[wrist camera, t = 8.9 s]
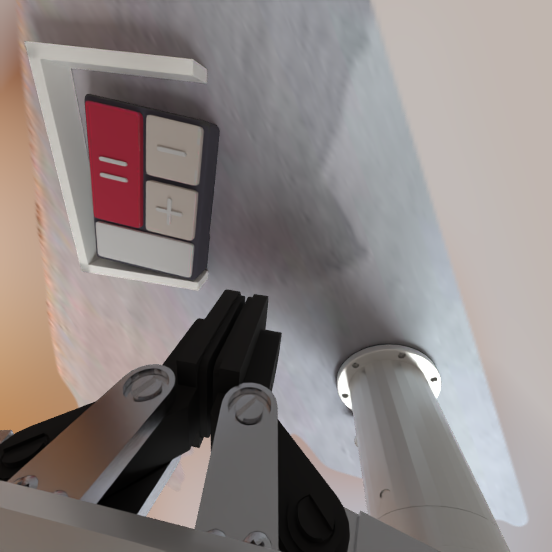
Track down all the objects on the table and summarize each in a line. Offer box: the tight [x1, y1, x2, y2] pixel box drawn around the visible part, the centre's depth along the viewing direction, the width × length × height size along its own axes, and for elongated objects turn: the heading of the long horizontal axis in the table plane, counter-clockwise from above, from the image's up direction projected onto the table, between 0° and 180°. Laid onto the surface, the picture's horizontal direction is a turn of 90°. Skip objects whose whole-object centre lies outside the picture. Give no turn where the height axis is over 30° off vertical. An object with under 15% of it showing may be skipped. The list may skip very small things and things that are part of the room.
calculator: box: [85, 94, 219, 280], centre depth 26 cm, size 11×4×15 cm
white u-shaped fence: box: [24, 41, 208, 291], centre depth 26 cm, size 20×14×3 cm
